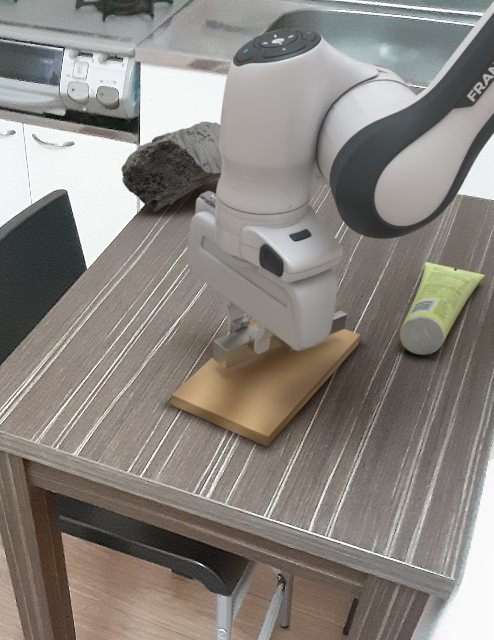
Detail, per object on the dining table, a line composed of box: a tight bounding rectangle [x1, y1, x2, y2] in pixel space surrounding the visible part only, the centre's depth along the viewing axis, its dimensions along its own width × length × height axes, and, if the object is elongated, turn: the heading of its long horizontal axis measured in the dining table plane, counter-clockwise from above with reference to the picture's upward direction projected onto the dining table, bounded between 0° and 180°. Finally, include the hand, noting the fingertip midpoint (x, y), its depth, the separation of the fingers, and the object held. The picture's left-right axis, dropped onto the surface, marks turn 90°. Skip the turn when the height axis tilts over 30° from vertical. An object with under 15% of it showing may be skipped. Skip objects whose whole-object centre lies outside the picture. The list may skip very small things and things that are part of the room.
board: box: [170, 319, 361, 448], centre depth 86 cm, size 12×22×2 cm, turn 143°
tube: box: [399, 261, 485, 356], centre depth 93 cm, size 6×5×20 cm
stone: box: [121, 121, 222, 213], centre depth 114 cm, size 12×18×15 cm
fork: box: [212, 310, 348, 369], centre depth 85 cm, size 16×5×2 cm, turn 121°
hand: (247, 341), depth 84 cm, fingers closed on fork, 2 cm apart
